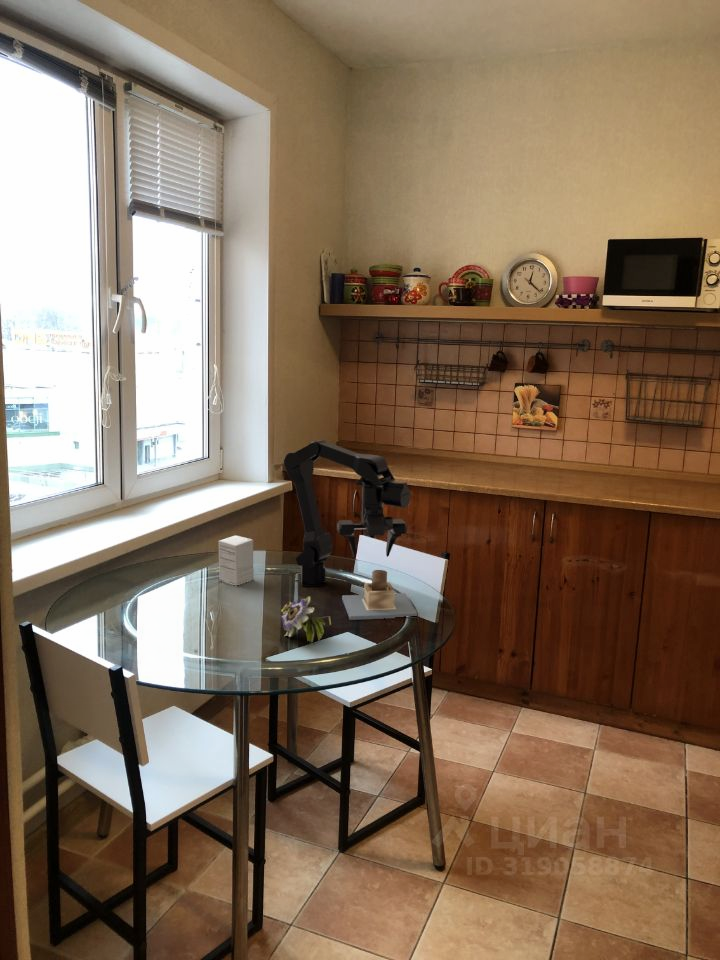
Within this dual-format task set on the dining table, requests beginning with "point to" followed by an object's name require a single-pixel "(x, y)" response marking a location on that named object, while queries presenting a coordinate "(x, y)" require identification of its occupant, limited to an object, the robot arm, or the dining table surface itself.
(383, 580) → the walnut peg
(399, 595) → the grey rectangular plate
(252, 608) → the dining table surface
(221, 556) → the supplement box
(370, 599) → the oak socket block
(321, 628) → the passion flower
